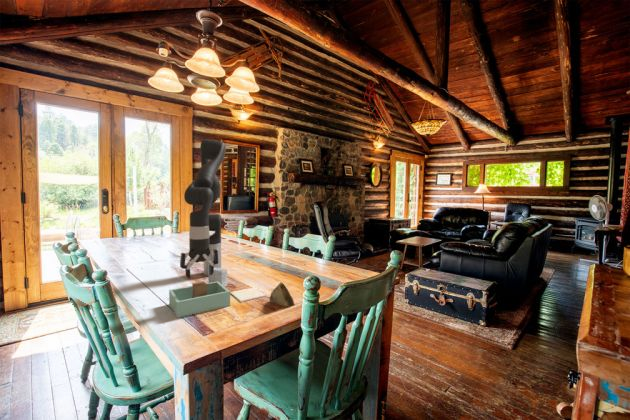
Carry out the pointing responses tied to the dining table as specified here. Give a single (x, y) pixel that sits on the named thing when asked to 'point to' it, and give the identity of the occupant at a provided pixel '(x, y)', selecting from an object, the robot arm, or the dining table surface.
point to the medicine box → (218, 276)
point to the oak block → (199, 289)
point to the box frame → (198, 299)
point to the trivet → (248, 294)
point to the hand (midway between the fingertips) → (199, 276)
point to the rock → (282, 296)
